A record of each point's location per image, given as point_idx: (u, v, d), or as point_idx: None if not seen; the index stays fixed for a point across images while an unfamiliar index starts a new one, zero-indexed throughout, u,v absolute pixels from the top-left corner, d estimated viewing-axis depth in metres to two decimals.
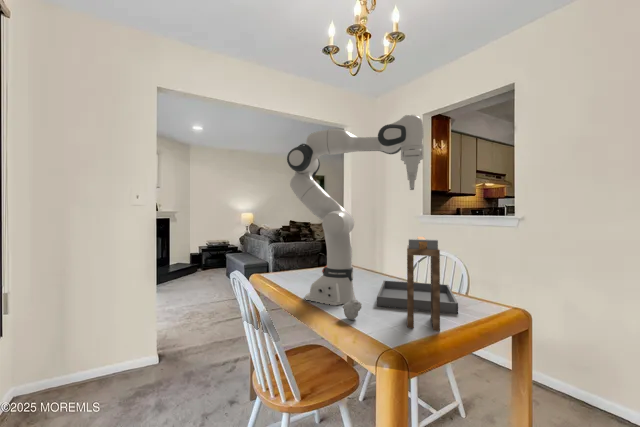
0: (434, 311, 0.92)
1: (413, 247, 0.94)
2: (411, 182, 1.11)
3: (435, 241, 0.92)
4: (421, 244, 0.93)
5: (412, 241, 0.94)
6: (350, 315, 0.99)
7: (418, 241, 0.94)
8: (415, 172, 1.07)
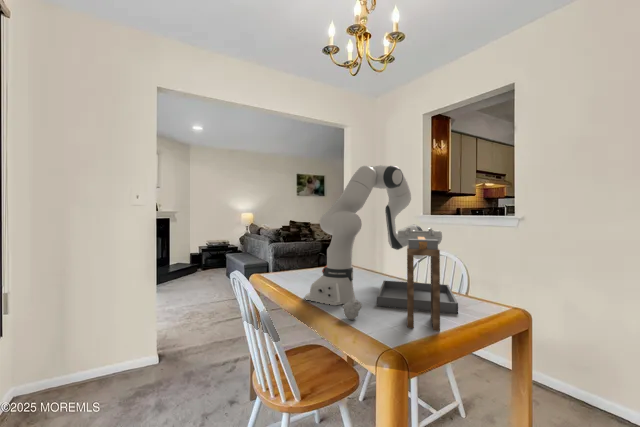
0: (434, 311, 0.92)
1: (413, 247, 0.94)
2: (432, 231, 1.32)
3: (435, 241, 0.92)
4: (421, 244, 0.93)
5: (412, 241, 0.94)
6: (350, 315, 0.99)
7: (418, 241, 0.94)
8: (441, 237, 1.33)
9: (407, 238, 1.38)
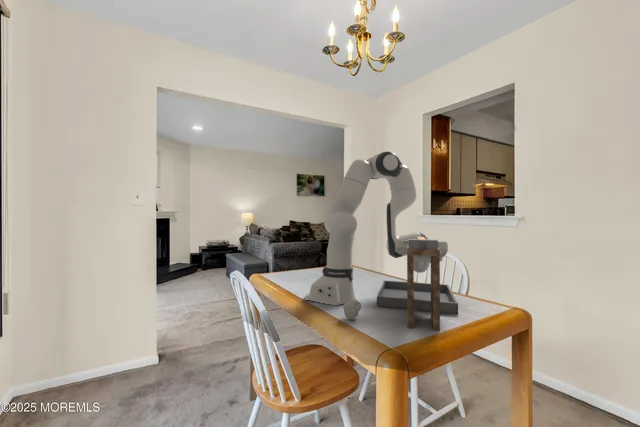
0: (434, 311, 0.92)
1: (413, 247, 0.94)
2: None
3: (435, 241, 0.92)
4: (421, 244, 0.93)
5: (412, 241, 0.94)
6: (350, 315, 0.99)
7: (418, 241, 0.94)
8: (447, 248, 1.11)
9: (406, 249, 1.17)
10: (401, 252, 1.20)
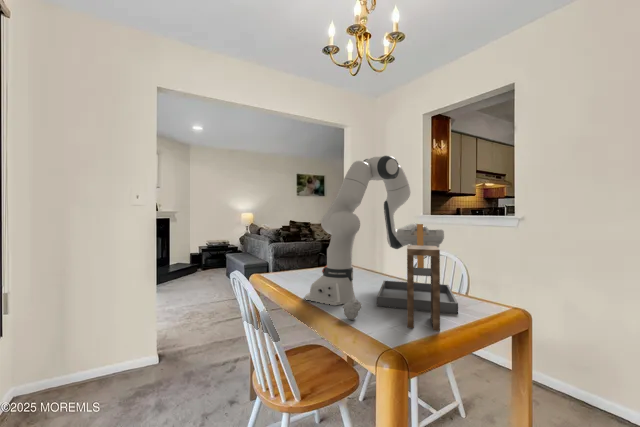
0: (434, 311, 0.92)
1: None
2: (427, 229, 1.25)
3: (430, 275, 1.17)
4: (419, 275, 1.20)
5: None
6: (350, 315, 0.99)
7: (417, 275, 1.19)
8: (443, 235, 1.24)
9: (407, 237, 1.30)
10: (402, 240, 1.33)
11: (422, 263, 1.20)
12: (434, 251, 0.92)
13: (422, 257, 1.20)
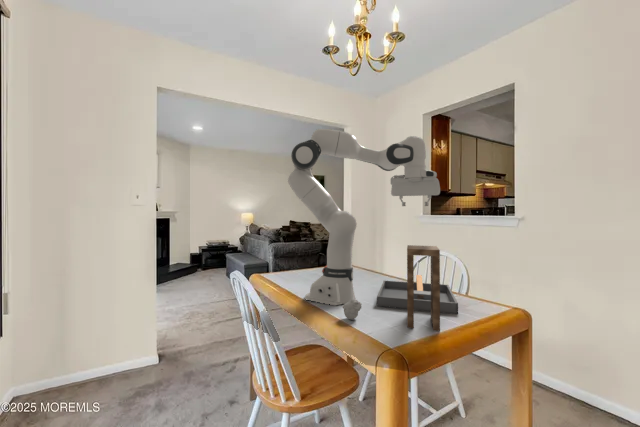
0: (434, 311, 0.92)
1: None
2: None
3: (430, 295, 1.20)
4: (419, 297, 1.22)
5: None
6: (350, 315, 0.99)
7: (416, 294, 1.22)
8: None
9: None
10: None
11: (421, 290, 1.26)
12: (434, 251, 0.92)
13: (421, 287, 1.28)
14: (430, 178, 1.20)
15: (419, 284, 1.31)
